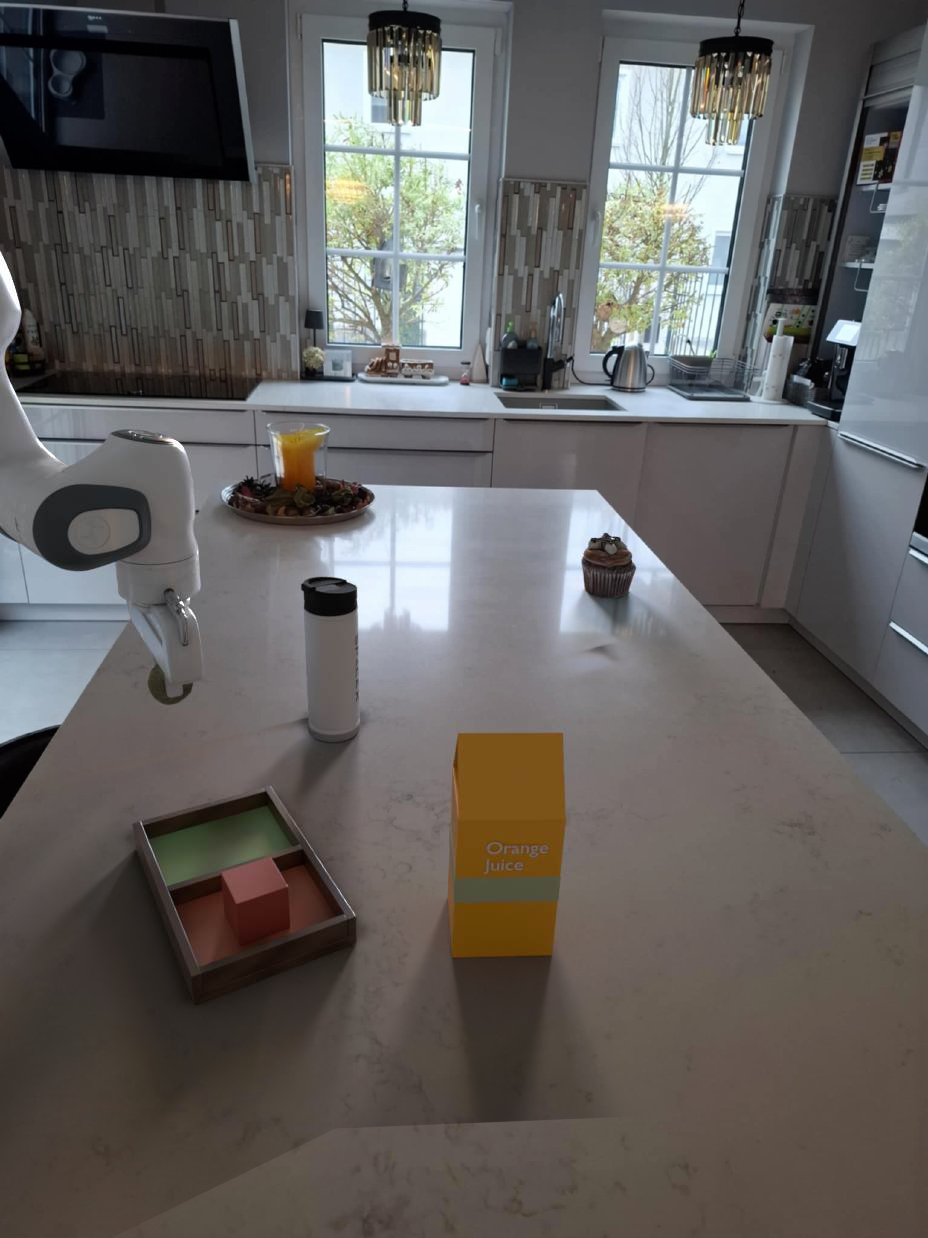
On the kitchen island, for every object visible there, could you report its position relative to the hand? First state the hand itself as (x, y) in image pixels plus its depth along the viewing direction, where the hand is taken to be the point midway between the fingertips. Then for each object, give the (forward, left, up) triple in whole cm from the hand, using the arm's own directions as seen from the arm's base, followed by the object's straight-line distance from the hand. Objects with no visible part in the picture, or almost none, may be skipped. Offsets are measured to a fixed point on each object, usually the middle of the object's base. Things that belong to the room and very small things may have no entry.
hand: (168, 685), depth 103 cm
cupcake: (+80, +15, -7) cm, 81 cm away
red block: (-1, -36, -6) cm, 37 cm away
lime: (0, -1, -2) cm, 2 cm away
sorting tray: (-1, -31, -7) cm, 31 cm away
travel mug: (+18, -8, -7) cm, 20 cm away
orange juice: (+18, -46, -7) cm, 49 cm away
